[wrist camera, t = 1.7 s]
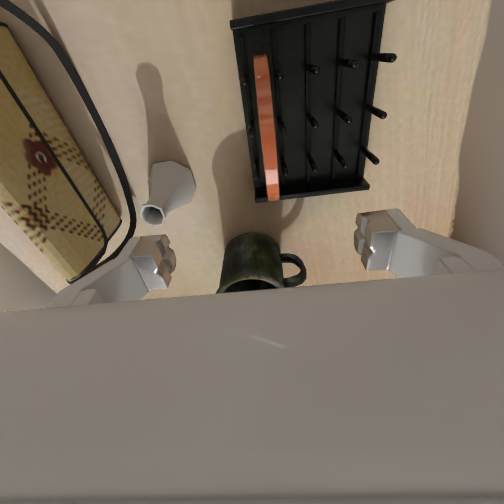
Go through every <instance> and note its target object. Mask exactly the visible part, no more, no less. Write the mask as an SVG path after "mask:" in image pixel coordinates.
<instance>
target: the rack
mask: <svg viewBox="0 0 504 504" xmlns="http://www.w3.org/2000/svg"><path fill="white" fill-rule="evenodd" d="M391 1H394V0H337V1H332V2H327V3H321V4H316V5H310V6H305V7H300V8H294V9H289V10H283V11H278V12H273V13H267V14H262V15H256V16H251V17H246V18H240V19H235V20H230V28H231V30H232V31H233V36H234V44H235V51H236V58H237V65H238V73H239V80H240V87H241V94H242V101H243V109H244V116H245V123H246V130H247V137H248V145H249V152H250V159H251V166H252V173H253V181H254V188H255V203H259V202H268V195H267V186H266V178H265V170H264V161H263V152H262V143H261V133H260V124H259V114H258V104H257V92H256V82H255V71H254V60H253V56H255V55H261V54H266V55H267V59H268V67H269V75H270V84H271V93H272V103H273V114H274V125H275V137H276V149H277V162H278V177H279V200H285V199H293V198H302V197H310V196H319V195H327V194H336V193H344V192H353V191H361V190H369V187H370V185H369V184H368V182H367V181H366V180H365V179H364V178H363V175H364V167H365V160H366V157H367V158H368V159H369V160H370V161H371V162H372V163H373V164H375V165H377V164H378V163H379V159H378V158H377V157H376V156H374V155H373V154H372V153H371V152H370V151H369V150H368V149H367V145H368V137H369V129H370V122H371V114H374V115H375V116H377V117H379V118H381V119H385V118H386V117H387V113H386V112H384V111H382V110H380V109H378V108H376V107H374V106H373V99H374V91H375V84H376V76H377V68H378V61H380V62H390V63H392V62H394V61H395V60H396V58H397V56H396V54H394V53H380V46H381V38H382V30H383V23H384V15H385V7H386V3H389V2H391Z"/></svg>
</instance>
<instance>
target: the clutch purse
mask: <svg viewBox="0 0 504 504" xmlns="http://www.w3.org/2000/svg"><path fill="white" fill-rule="evenodd" d="M0 6H1V7H2V8H4V9H6V10H7V11H9V12H10V13H12V14H13V15H15V16H16V17H18V18H19V19H21V20H22V21H23V22H25V23H26V24H27V25H29V26H30V27H31V28H32V29H34V30H35V31H36V32H37V33H38V34H39V35H40V36H42V37H43V38H44V39H45V40H46V41H47V42H48V44H49V45H50V46H51V47H52V48H53V50H54V51H55V53H56V54H57V56H58V58H59V59H60V61H61V62H62V64H63V66H64V67H65V69H66V71H67V72H68V74H69V76H70V78H71V79H72V81H73V83H74V85H75V86H76V88H77V90H78V92H79V94H80V96H81V97H82V99H83V101H84V103H85V105H86V107H87V109H88V110H89V112H90V114H91V116H92V118H93V120H94V122H95V124H96V126H97V128H98V130H99V132H100V134H101V137H102V139H103V141H104V143H105V146H106V148H107V150H108V152H109V155H110V157H111V159H112V162H113V164H114V167H115V169H116V172H117V174H118V177H119V179H120V182H121V185H122V188H123V191H124V194H125V198H126V201H127V205H128V209H129V213H130V227H129V231H128V233H127V235H126V237H125V239H124V241H123V242H122V244H121V245H120V246H119V247H118V248H117V249H116V250H115V251H114V252H113V253H112V254H111V255H110V256H109V257H108V258H106V259H105V260H104V261H102V262H101V263H99V264H97V263H98V261H99V260H100V259H101V258H102V256H103V255H104V254H105V251H106V248H107V244H108V241H109V240H110V239H111V238H112V236H113V235H114V234H115V232H116V231H117V230H118V228H119V227H120V225H121V223H122V220H121V219H120V218H119V217H118V215H117V213H116V211H115V210H114V208H113V206H112V205H111V203H110V201H109V200H108V198H107V196H106V195H105V193H104V191H103V189H102V188H101V186H100V184H99V183H98V181H97V179H96V178H95V176H94V174H93V173H92V171H91V169H90V167H89V166H88V164H87V162H86V161H85V159H84V157H83V156H82V154H81V152H80V151H79V149H78V147H77V145H76V144H75V142H74V140H73V139H72V137H71V135H70V134H69V132H68V130H67V129H66V127H65V125H64V123H63V122H62V120H61V118H60V117H59V115H58V113H57V112H56V110H55V108H54V107H53V105H52V103H51V101H50V100H49V98H48V96H47V95H46V93H45V91H44V90H43V88H42V86H41V85H40V83H39V81H38V79H37V78H36V76H35V74H34V73H33V71H32V69H31V68H30V66H29V64H28V63H27V61H26V59H25V57H24V56H23V54H22V52H21V51H20V49H19V47H18V46H17V44H16V42H15V41H14V39H13V37H12V35H11V34H10V32H9V30H8V29H7V28H8V26H7V24H6V23H4V22H1V21H0V206H1V207H2V208H3V209H4V210H5V211H6V213H7V214H8V215H9V216H10V217H11V218H12V219H13V221H14V222H15V223H16V224H17V225H18V226H19V227H20V228H21V230H22V231H23V232H24V233H25V234H26V235H27V236H28V237H29V239H30V240H31V241H32V242H33V243H34V244H35V245H36V247H37V248H38V249H39V250H40V251H41V252H42V253H43V254H44V256H45V257H46V258H47V259H48V260H49V261H50V262H51V263H52V265H53V266H54V267H55V268H56V269H57V270H58V271H59V272H60V274H61V275H62V276H63V277H64V278H65V279H66V280H67V282H68V283H69V284H73V283H74V282H76V281H78V280H79V279H81V278H83V277H84V276H86V275H88V273H91V272H92V271H94V270H96V269H97V268H99V267H101V266H102V265H104V264H106V263H107V262H109V261H111V260H113V259H115V258H116V257H117V256H118V255H119V254H120V252H121V251H122V249H123V248H124V246H125V245H126V244H127V242H128V241H129V239H130V238H132V237H133V235H134V232H135V228H136V221H137V219H136V212H135V208H134V204H133V200H132V196H131V193H130V189H129V186H128V183H127V180H126V177H125V175H124V172H123V169H122V167H121V164H120V162H119V159H118V157H117V154H116V152H115V150H114V147H113V145H112V143H111V140H110V138H109V136H108V133H107V131H106V129H105V127H104V125H103V123H102V121H101V119H100V117H99V115H98V113H97V111H96V109H95V107H94V105H93V103H92V101H91V99H90V97H89V95H88V93H87V91H86V89H85V88H84V86H83V84H82V82H81V80H80V78H79V76H78V75H77V73H76V71H75V69H74V68H73V66H72V64H71V62H70V61H69V59H68V57H67V56H66V54H65V52H64V51H63V49H62V48H61V46H60V45H59V43H58V42H57V41H56V40H55V39H54V37H53V36H52V35H51V34H50V33H49V32H48V31H47V30H46V29H45V28H44V27H42V26H41V25H40V24H39V23H38V22H37V21H35V20H34V19H33V18H32V17H30V16H29V15H28V14H27V13H25V12H24V11H23V10H21V9H20V8H18V7H17V6H16V5H14V4H13V3H11V2H10V1H8V0H0ZM96 264H97V265H96Z"/></svg>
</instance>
